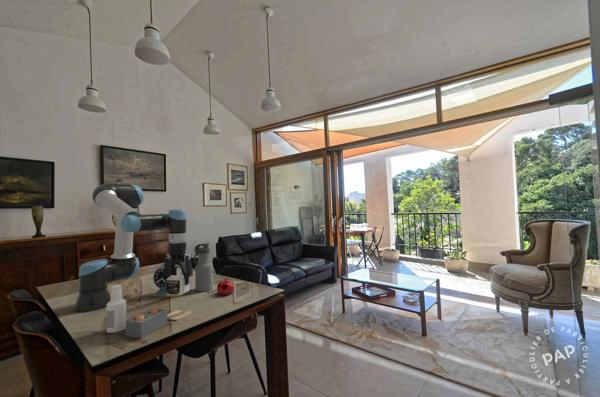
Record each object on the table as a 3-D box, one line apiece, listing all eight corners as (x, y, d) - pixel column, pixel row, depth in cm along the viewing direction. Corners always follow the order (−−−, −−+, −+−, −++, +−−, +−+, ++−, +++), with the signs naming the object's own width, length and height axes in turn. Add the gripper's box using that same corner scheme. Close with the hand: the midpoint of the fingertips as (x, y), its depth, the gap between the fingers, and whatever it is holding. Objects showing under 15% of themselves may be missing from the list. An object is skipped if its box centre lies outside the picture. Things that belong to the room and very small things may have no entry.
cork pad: (161, 318, 119) (161, 317, 119) (175, 311, 128) (175, 310, 128) (177, 321, 116) (177, 319, 116) (191, 313, 125) (191, 311, 125)
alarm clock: (149, 295, 152) (149, 265, 153) (162, 290, 162) (161, 261, 162) (171, 297, 149) (170, 265, 149) (182, 291, 158) (182, 262, 159)
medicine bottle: (165, 294, 120) (165, 268, 120) (176, 290, 127) (176, 265, 127) (179, 295, 118) (179, 268, 119) (189, 290, 125) (189, 265, 126)
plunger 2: (148, 323, 111) (148, 310, 111) (154, 320, 114) (154, 307, 114) (154, 324, 110) (154, 311, 110) (160, 321, 113) (160, 308, 113)
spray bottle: (112, 326, 113) (113, 283, 113) (129, 325, 113) (129, 283, 114) (102, 333, 106) (102, 288, 106) (120, 332, 106) (120, 287, 107)
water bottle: (191, 291, 158) (191, 244, 159) (200, 286, 167) (199, 242, 168) (207, 292, 156) (206, 244, 157) (215, 287, 166) (214, 242, 167)
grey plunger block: (125, 336, 103) (125, 320, 104) (152, 322, 116) (152, 308, 116) (141, 338, 101) (141, 322, 101) (167, 323, 114) (167, 309, 114)
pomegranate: (226, 290, 159) (226, 274, 160) (237, 292, 154) (237, 276, 154) (212, 294, 151) (212, 278, 152) (223, 297, 146) (223, 280, 146)
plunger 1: (133, 331, 104) (133, 317, 104) (140, 327, 107) (140, 314, 107) (139, 332, 103) (139, 317, 104) (146, 328, 106) (146, 314, 106)
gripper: (153, 243, 123) (154, 292, 122) (190, 243, 117) (190, 295, 116) (166, 240, 130) (166, 287, 129) (201, 241, 124) (201, 290, 123)
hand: (178, 291), depth 123 cm, fingers closed on medicine bottle, 7 cm apart
